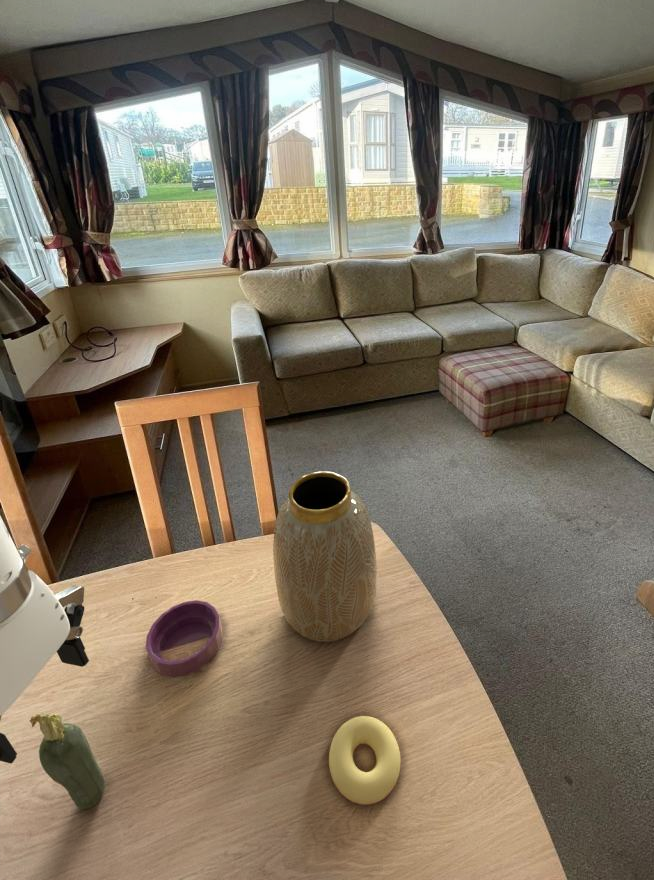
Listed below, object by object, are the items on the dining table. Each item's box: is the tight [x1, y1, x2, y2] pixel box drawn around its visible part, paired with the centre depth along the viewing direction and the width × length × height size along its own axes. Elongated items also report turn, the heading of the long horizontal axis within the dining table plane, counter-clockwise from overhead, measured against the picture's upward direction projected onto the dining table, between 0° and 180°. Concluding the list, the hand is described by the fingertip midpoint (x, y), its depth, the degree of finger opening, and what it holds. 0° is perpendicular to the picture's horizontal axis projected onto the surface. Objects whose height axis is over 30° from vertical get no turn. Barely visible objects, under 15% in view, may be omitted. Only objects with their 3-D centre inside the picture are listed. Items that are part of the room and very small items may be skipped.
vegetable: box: [28, 712, 106, 811], centre depth 57 cm, size 4×4×20 cm
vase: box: [272, 471, 378, 643], centre depth 81 cm, size 17×17×27 cm
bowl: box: [145, 599, 224, 678], centre depth 80 cm, size 11×11×4 cm
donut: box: [328, 715, 401, 806], centre depth 65 cm, size 10×5×9 cm
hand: (42, 705), depth 52 cm, fingers open, 9 cm apart
